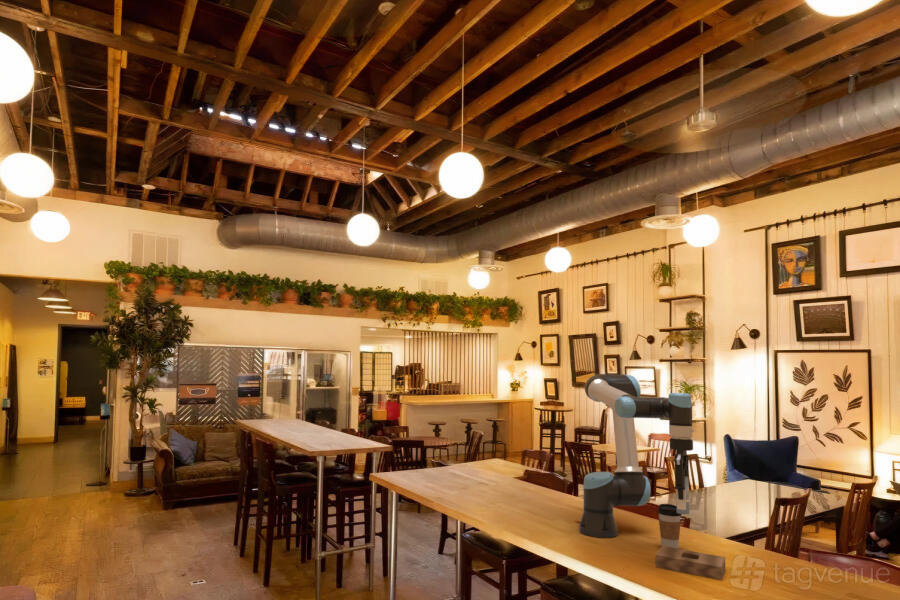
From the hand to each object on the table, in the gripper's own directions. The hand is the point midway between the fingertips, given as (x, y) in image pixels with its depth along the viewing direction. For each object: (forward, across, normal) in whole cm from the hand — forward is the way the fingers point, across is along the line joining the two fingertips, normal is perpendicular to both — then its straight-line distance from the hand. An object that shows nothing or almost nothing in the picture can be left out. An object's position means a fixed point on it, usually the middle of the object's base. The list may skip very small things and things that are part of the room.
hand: (682, 507), depth 192 cm
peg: (+2, 0, 0) cm, 2 cm away
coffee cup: (+19, +20, +9) cm, 29 cm away
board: (+19, +1, -2) cm, 19 cm away
